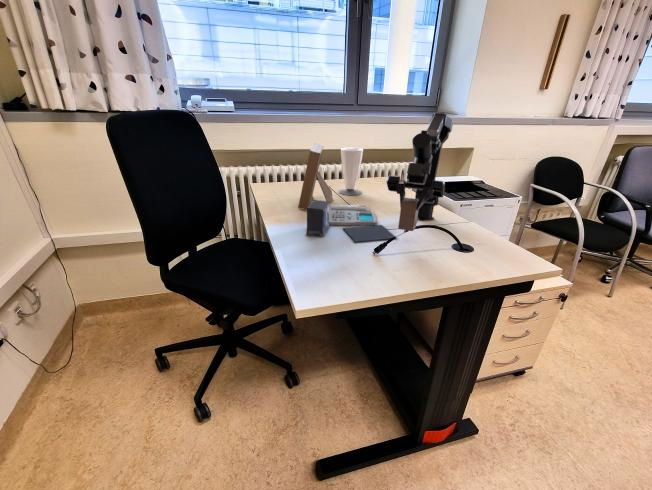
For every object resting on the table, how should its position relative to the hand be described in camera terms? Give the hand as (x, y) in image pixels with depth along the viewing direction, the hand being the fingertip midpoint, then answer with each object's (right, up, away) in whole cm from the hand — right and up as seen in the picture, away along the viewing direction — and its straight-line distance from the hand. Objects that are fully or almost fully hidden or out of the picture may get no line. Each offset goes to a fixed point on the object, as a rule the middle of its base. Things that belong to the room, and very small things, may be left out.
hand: (408, 208), depth 111 cm
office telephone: (-17, +4, +34) cm, 38 cm away
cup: (-16, +24, +68) cm, 74 cm away
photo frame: (-33, +13, +49) cm, 61 cm away
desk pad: (-11, -6, +16) cm, 21 cm away
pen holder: (0, -6, +5) cm, 7 cm away
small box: (-31, -5, +17) cm, 36 cm away
